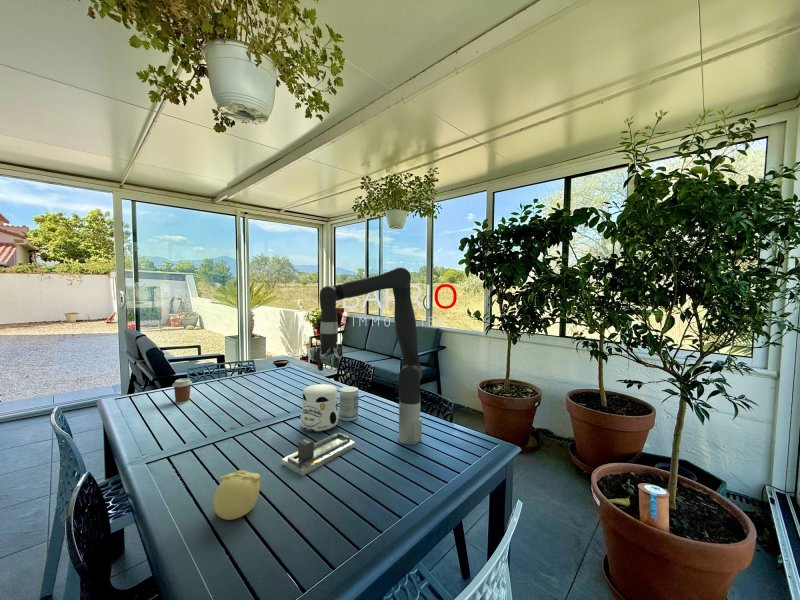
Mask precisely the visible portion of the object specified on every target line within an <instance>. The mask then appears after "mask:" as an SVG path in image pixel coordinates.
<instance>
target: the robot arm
mask: <svg viewBox="0 0 800 600" xmlns="http://www.w3.org/2000/svg"><path fill="white" fill-rule="evenodd" d="M411 280H412V277H411V273H410V271H409V270H408V269H406V268H405V267H401V266H400V267H399V266H398V267H396V268H394V269H392V270H389V271H386V272H384V273H382V274H378V275H375V276H369V277H363V278H359V279H354V280H350V281H346V282H343V283H340V284H336V285H335V284H334V285H325V286H323V287H322V288H321V290H320V292H319V304H320V305H319V306H320V310H321V311H320V326H319V327H320V328H319V330H320V331H319V342H320V346H314V349H313V361H314V362H317V369H318V371H320V372H322V371H323V370H324V361H325V359H326V358H327V357H328V356H333V357H332V358H333V367H335V368H338V367H339V363H340V362H339V361H340V358H342V357H343V344H342V343H340V342H338V339H339V337H338V336H339V326H338V325H339V324H338V310H337V307H336V306H337V305H336V304H337V302H338V301H340V300H341V301H342V300H345V299H351V298H356V297H359V296H364V295H367V294H371V293H374V292H377V291H381V290H387V289H388V290H389V289H392V293H393V298H394V314H393V315H394V317H393V318H394V329H395V335H396V339H397V342H398V345H399V348H400V351H401V358H402V365H401V366H402V368H401V369H400V371H399V372H398V373H399V374H398V396H399V403H398V405H399V407H398V409H399V410H398V442H400V443H401V444H404V445H407V446H408V445H409V446H410V445H412V446H415V445H417V444H418V443H419V442H421V441H422V433H423V431H422V430H423V427H422V426H423V422H422V421H423V419H422V418H421V400H422V399H421V397H422V396H421V379H422V377H423V370H422V366H421V361H420V357H419V356H420V355H419V350H418V329H417V322H416V321H417V320H416V316H415V314H416V313H415V310H414V307H413V302H412V298H411V296H412V295H411Z"/></svg>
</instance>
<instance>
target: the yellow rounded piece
mask: <svg viewBox="0 0 800 600" xmlns="http://www.w3.org/2000/svg"><path fill="white" fill-rule="evenodd" d="M261 478H262V476H261V474H259V473H256V472H249V471H247V470H245V469H239V470H237V471H235V472H232V473H228V474H225V475H222V476H221V477H220V483H219V485H218V486H217V488H216V490H215V493H214V497H213V502H212V503H213V509H214V512H215V514H216V515H217V516H218V517H219V518H221V519H223V520H228V521H231V520H237V519H239V518H242V517H243V516H245V515H247V514H248V513H249V512H250V511H251V510H252V509H253V508H254V506H255V505H256V503H257V500H258V497H259V494H260V489H261Z"/></svg>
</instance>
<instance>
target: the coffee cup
mask: <svg viewBox="0 0 800 600" xmlns="http://www.w3.org/2000/svg"><path fill="white" fill-rule="evenodd" d="M192 384H193V381H191V379H190V378H179V379H176V380H175V381H174V383H172V387H173V389H174V391H173V392H174V398H175V399H174V401H175V404H179V405H180V404H185V403H188V402H190V396H191V385H192Z"/></svg>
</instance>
